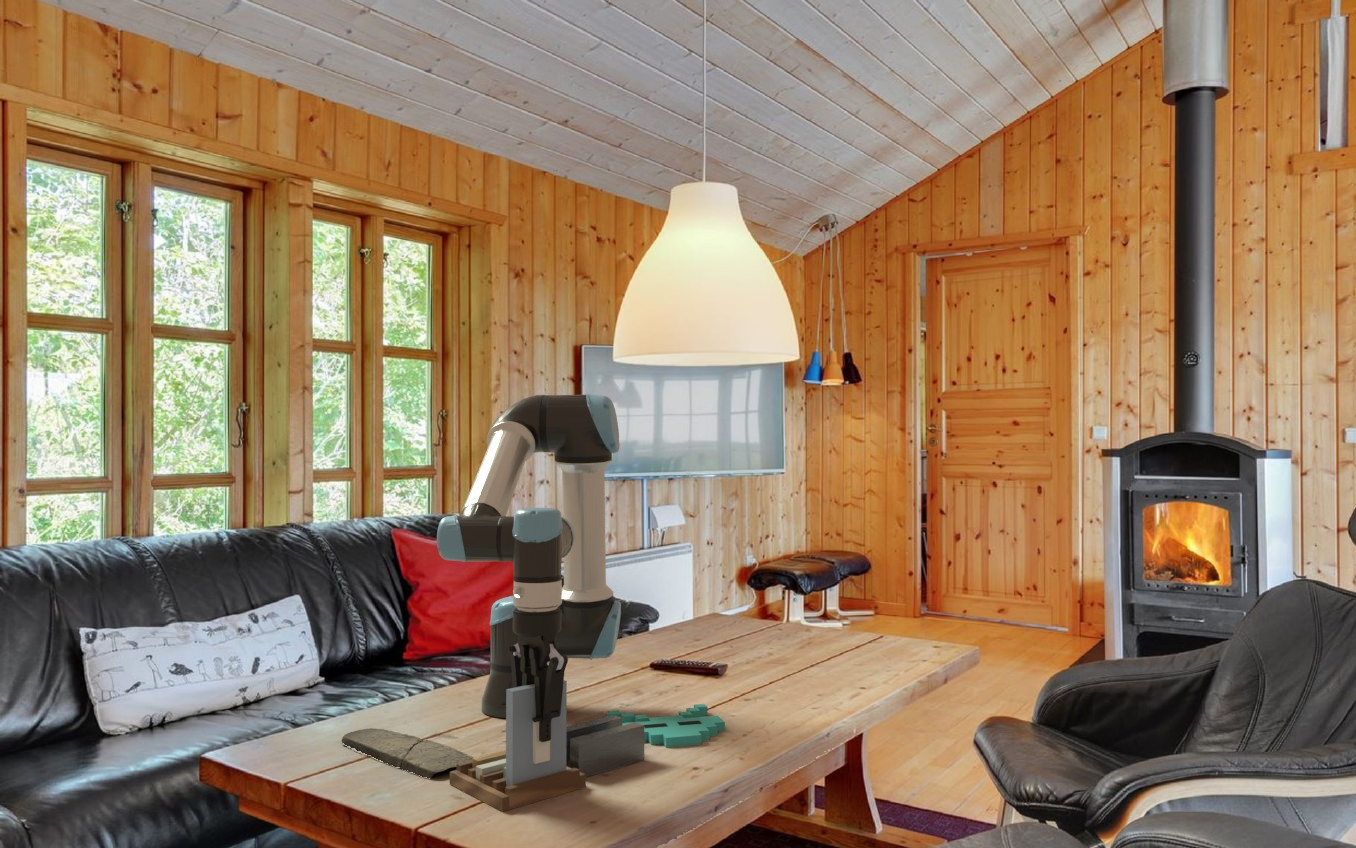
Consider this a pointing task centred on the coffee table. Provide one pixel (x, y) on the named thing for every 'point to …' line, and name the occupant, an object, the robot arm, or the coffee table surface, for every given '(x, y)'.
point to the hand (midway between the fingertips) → (536, 759)
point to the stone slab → (405, 751)
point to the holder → (603, 745)
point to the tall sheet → (531, 737)
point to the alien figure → (676, 726)
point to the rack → (514, 786)
